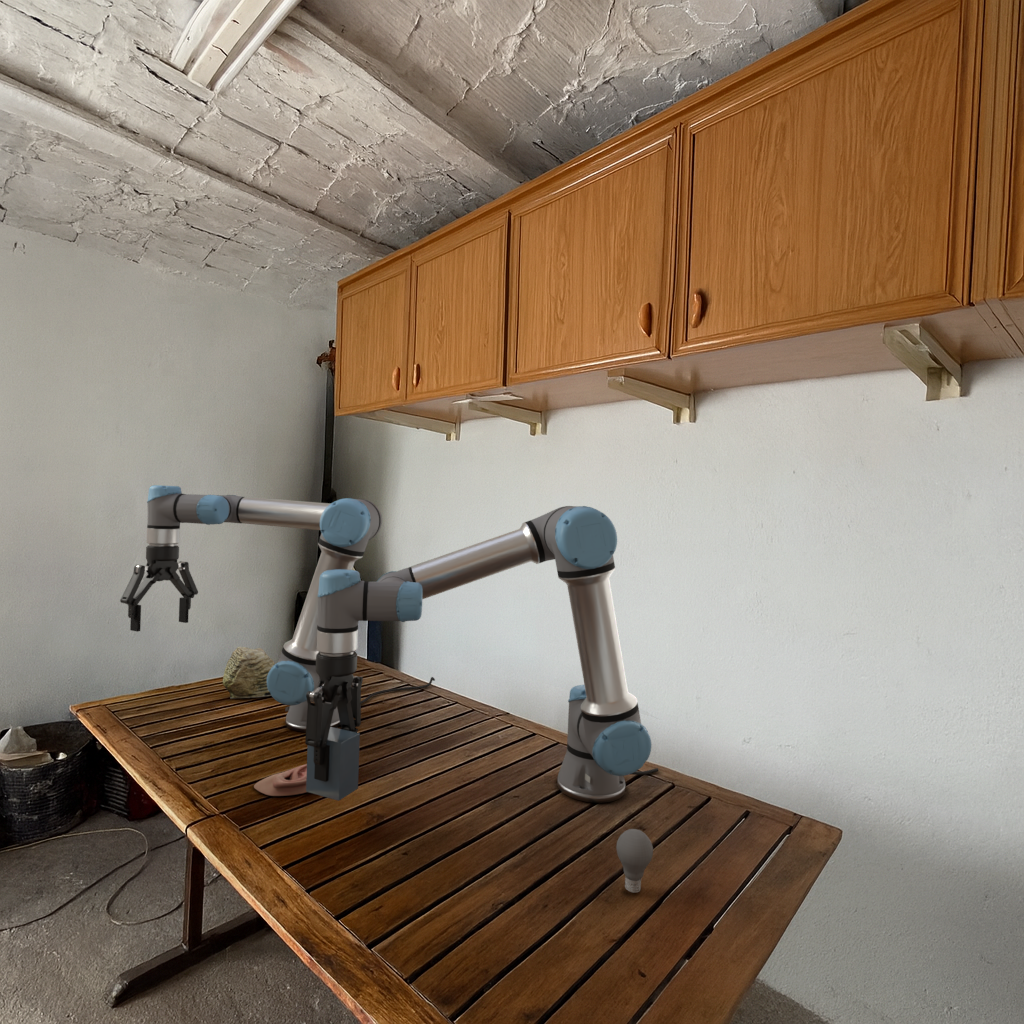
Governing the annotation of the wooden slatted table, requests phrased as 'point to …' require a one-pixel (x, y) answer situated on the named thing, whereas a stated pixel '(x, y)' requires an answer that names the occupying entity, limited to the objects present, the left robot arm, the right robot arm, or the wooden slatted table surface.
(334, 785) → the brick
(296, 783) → the anatomical model
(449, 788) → the wooden slatted table surface
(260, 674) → the fossil
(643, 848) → the light bulb
